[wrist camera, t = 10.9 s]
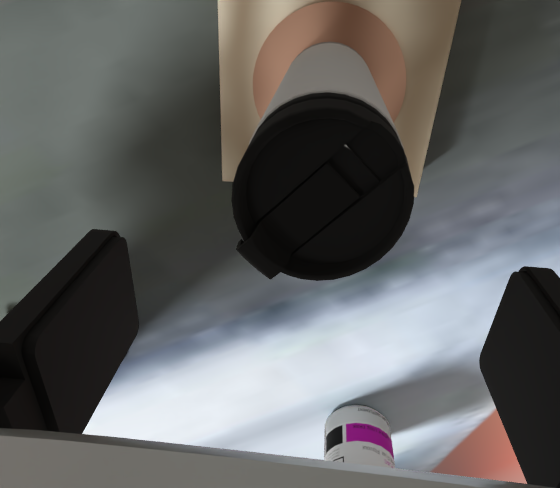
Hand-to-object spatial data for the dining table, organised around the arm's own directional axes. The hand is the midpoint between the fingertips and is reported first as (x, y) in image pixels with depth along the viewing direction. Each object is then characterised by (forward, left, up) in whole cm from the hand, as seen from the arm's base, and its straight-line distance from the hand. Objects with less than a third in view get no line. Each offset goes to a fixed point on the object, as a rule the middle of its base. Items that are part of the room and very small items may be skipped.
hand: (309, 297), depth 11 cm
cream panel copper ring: (0, 0, -29) cm, 29 cm away
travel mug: (0, 0, -24) cm, 24 cm away
